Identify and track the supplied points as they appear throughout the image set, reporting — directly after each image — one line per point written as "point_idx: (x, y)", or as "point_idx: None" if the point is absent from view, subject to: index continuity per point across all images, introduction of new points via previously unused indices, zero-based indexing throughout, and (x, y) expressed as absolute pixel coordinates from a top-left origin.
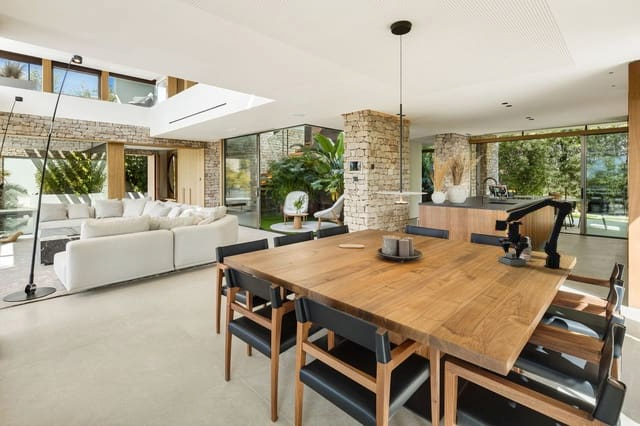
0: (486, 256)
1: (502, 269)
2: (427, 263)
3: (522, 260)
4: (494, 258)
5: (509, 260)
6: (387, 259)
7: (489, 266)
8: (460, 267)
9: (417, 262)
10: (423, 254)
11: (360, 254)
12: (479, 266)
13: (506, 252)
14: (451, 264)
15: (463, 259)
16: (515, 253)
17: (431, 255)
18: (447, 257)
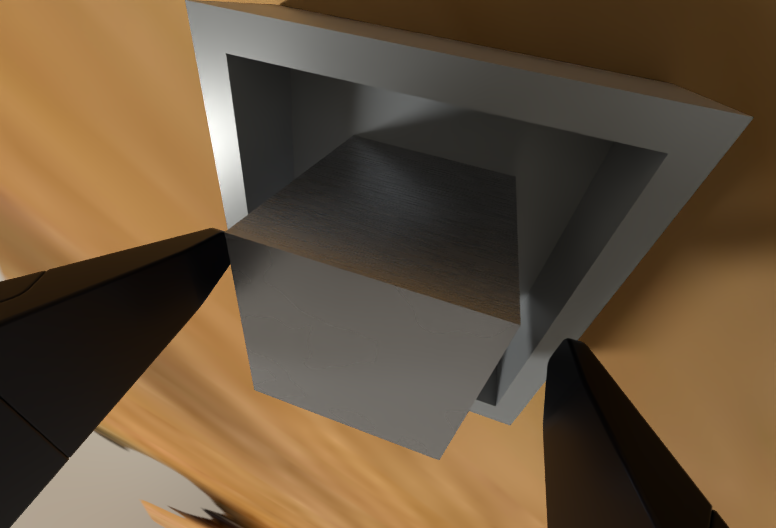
0: (29, 163)
1: (538, 472)
2: (272, 518)
3: (646, 243)
4: (116, 162)
5: (483, 411)
6: (209, 521)
7: (412, 450)
8: (368, 521)
9: (253, 519)
10: (104, 428)
11: (150, 509)
12: (385, 476)
13: (271, 391)
14: (304, 499)
15: (194, 399)
16: (439, 377)
17: (118, 423)
18: (151, 413)
